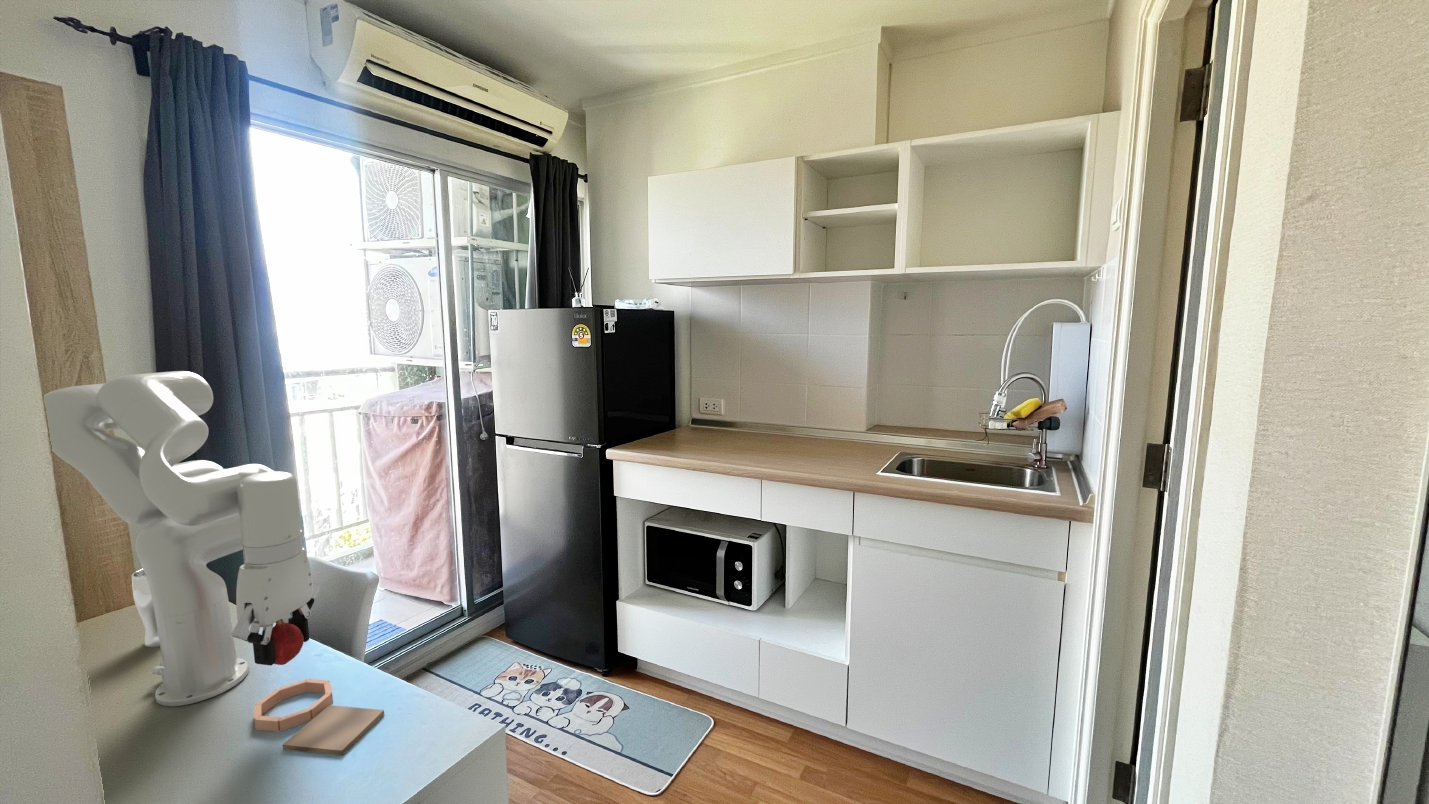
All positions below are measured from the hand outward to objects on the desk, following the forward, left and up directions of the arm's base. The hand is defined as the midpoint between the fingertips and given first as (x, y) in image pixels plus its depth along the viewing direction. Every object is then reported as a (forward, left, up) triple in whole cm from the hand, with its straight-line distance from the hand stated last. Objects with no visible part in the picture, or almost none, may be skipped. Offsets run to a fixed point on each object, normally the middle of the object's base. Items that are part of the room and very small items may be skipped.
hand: (283, 650), depth 95 cm
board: (+12, -4, -10) cm, 16 cm away
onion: (0, 0, -3) cm, 3 cm away
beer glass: (-44, +16, -11) cm, 48 cm away
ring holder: (+1, 0, -10) cm, 10 cm away
